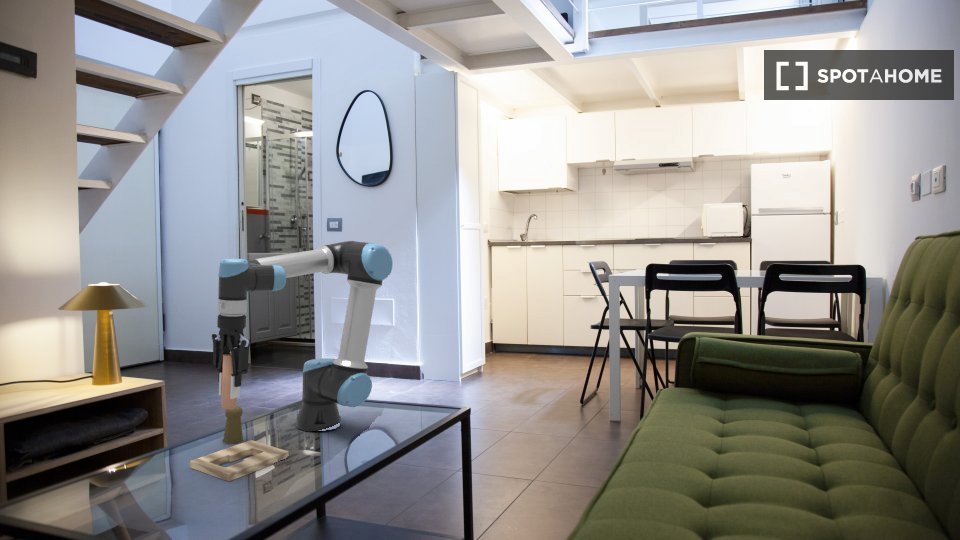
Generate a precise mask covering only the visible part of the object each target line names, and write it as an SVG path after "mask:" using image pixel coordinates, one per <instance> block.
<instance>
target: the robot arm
mask: <svg viewBox="0 0 960 540" xmlns="http://www.w3.org/2000/svg"><path fill="white" fill-rule="evenodd" d="M218 270H219V271H218V274H217V275H218V298H217V301H218V304H217V305H218V306H217V312H218V315H217V321H216V322H217V328H218V329H219V331H218V332H217V333H212V334H211V340H212V368H213V369H214V370H215V369H216V370H217V372H218V377H217V378H218V396H220V397H222V372H223V355H224V354H231V357H232V367H233V374H231V389H230V398H231V399H233V398H240V397H241V387H242V379H243V377H242V376H243V375H245V374H248V371H249V356H250V347H251V343H252V339H250V338H248V339H247V338H246V337H245V335H244V329H245V328H246V327H247V315H246V314H247V303H248V302H247V301H248V299H247V298H248V297H247V296H248V293H253V292H254V293H257V292H258V293H259V292H276V291H281V290H283V289H284V287H285V286H286V283H287V278H294V277H299V276H305V275H311V274H316V273H322V274H325V275H328V274H341V275H342V274H343V275H347V278H346V281H347V282H348V284H349V285H350V288H349V294H348V299H347V306H346V311H345V316H344V317H345V318H344V323H343V329H342V335H341V339H340V344H339V345H340V347H339V352H338V357H337V358H334V357H333V358H332V357H325V358H314V359H310V360H307V361H305V362H304V364H303V370H302V392H301V393H302V394H301V397H302V399H301V406H300V408H299V411H298V414H297V417H296V419H295V427H296V428H297V429H299V430H300V431H301V430H302V431H304V432H305V431H306V432H309V431H318V430H322V429H326V428H329V427H332V426H334V425H336V424H338V423H340V422H341V423H342V418H341V415H340V412H339V407H338V405H340V406H343V407H347V408H348V407H349V408H355V407H356V408H357V407H359V406H362V404H363V403H364V402H365V401H367V399H368V398H369V397H370V394H371V392H372V388H373V381H372V380H371V377H370V375H368V374H367V373H368V369H369V366H368V365H367V363H366V362H365V360H366V352H367V346H368V343H369V342H368V340H369V336H370V330H371V323H372V319H373V318H372V317H373V311H374V306H375V300H376V295H377V290H378V289H380V288H381V287H382V286H383V281H384V280H385V279H387V278H388V277H389V276H390V275H391V273H392V270H393V257H392V255H391V253H390V252H389V250H388V249H387V248H386V246H384V245H382V244H377V243H374V242H365V241H363V242H362V241H356V240H355V241H354V240H347V241H341V242H336V243H335V242H334V243H330V244H323V245H320V246H319V247H318V248H317V249H313V250H311V249H310V250H306V251H299V252H293V253H286V254H280V255H279V254H278V255H273V256H266V257H259V258H254V259H249V260H248V259H244V258H224V259H221V260H220V262H219V268H218ZM237 370H238V371H237Z"/></svg>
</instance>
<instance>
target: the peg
mask: <svg viewBox="0 0 960 540" xmlns="http://www.w3.org/2000/svg"><path fill="white" fill-rule="evenodd" d="M237 371H238V370H237ZM231 374H233V367H232V357H231V353H230V354H224V355H223V372H222V396H221V399H220V400H221V404H220V405H221V407H220V408H221V409H223V410H226V409H234V408H236V406H237V398H238V397H237V398H233V399H231V398H230V389H231Z"/></svg>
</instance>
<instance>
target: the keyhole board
mask: <svg viewBox="0 0 960 540" xmlns="http://www.w3.org/2000/svg"><path fill="white" fill-rule="evenodd" d="M289 454H290V452H289V451H288V450H284V449H282V448H278V447H276V446H272V445H269V444H265V443H262V442H259V441H255V440H253V439H251V440H246V441H245V442H244V441H243V442H241V443H237V444H234V445H233V446H230V447H227V448H224V449H220V450H217V451H216V452H211V453H209V454H206V455H203V456H201V457H198V458H194V459H192V460H189V461H190V462H189V468H190V469H193V470H195V471H198V472H200V473H203V474H206V475H209V476H212V477H216V478H218V479H221V480H224V481H227V482H232V481H234V480H237V479H239V478H242V477H244V476H247V475H249V474H251V473H254V472H258V471H259V470H262V469H264V468H267V467H270V466H273V465H274V463H275V462H277V461H279V460H281V459H283V458H285V457H287V456H290V455H289ZM251 455H252V456H251ZM245 457H246V458H245ZM240 459H242V461H240V462H237V463H234V464H232V465H229V466H227V467H225V466H221V465H222V464H225V463H228V462H229V463H232V462H235V461H238V460H240ZM277 463H278V462H277ZM275 464H276V463H275Z"/></svg>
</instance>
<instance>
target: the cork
mask: <svg viewBox="0 0 960 540" xmlns="http://www.w3.org/2000/svg"><path fill="white" fill-rule="evenodd" d="M224 412H225V413H224V415H225V417H226V422H225V428H224V434H223V440H222V443H224V444H225V445H226V444H227V445H238V444H241V443H243V442H244V435H243V425H242V416H243V409H242V407H241V406H239V405H236V408H234V409H225V411H224Z"/></svg>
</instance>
